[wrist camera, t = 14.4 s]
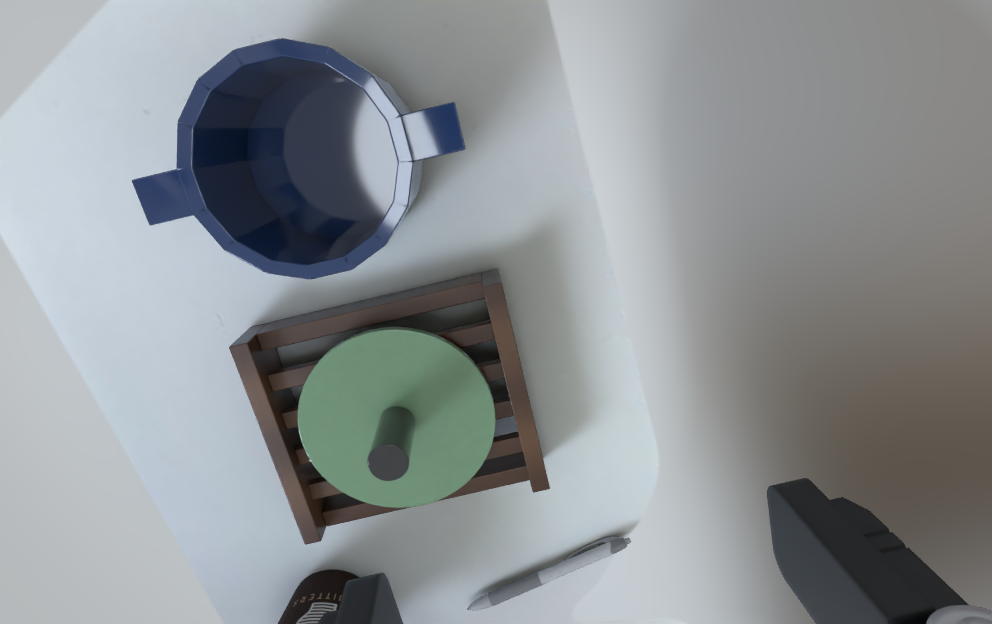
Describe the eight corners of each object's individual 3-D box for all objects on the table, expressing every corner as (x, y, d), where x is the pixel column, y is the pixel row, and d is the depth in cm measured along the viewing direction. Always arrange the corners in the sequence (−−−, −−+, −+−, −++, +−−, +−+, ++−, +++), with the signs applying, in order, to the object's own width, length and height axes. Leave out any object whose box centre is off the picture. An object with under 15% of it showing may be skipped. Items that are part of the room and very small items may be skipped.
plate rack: (250, 327, 42) (228, 347, 38) (498, 268, 42) (501, 282, 38) (317, 510, 46) (304, 545, 42) (543, 459, 46) (550, 489, 42)
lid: (275, 349, 39) (241, 388, 33) (469, 303, 39) (470, 334, 33) (335, 515, 43) (314, 577, 37) (513, 474, 43) (520, 530, 37)
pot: (167, 94, 37) (84, 85, 29) (438, 28, 37) (430, 0, 29) (233, 275, 41) (176, 311, 33) (482, 215, 40) (486, 237, 32)
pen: (629, 537, 48) (634, 549, 47) (470, 605, 49) (470, 618, 48) (625, 527, 48) (629, 538, 47) (464, 596, 49) (464, 609, 48)
